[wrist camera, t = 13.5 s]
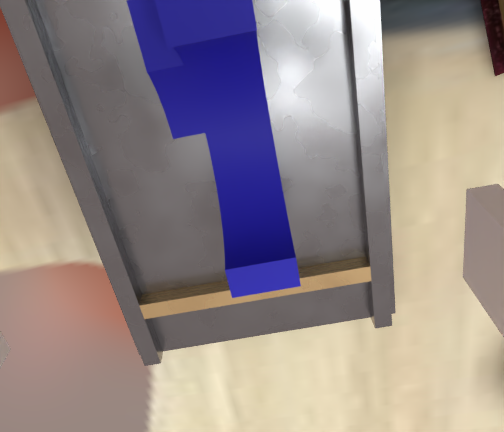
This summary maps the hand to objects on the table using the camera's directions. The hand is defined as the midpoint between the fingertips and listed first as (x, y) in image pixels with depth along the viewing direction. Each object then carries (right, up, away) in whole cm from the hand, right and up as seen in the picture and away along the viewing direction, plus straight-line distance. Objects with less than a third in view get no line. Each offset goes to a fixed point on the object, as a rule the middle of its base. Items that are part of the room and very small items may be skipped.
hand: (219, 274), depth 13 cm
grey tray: (-1, +6, +12) cm, 13 cm away
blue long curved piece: (-1, +6, +11) cm, 12 cm away
